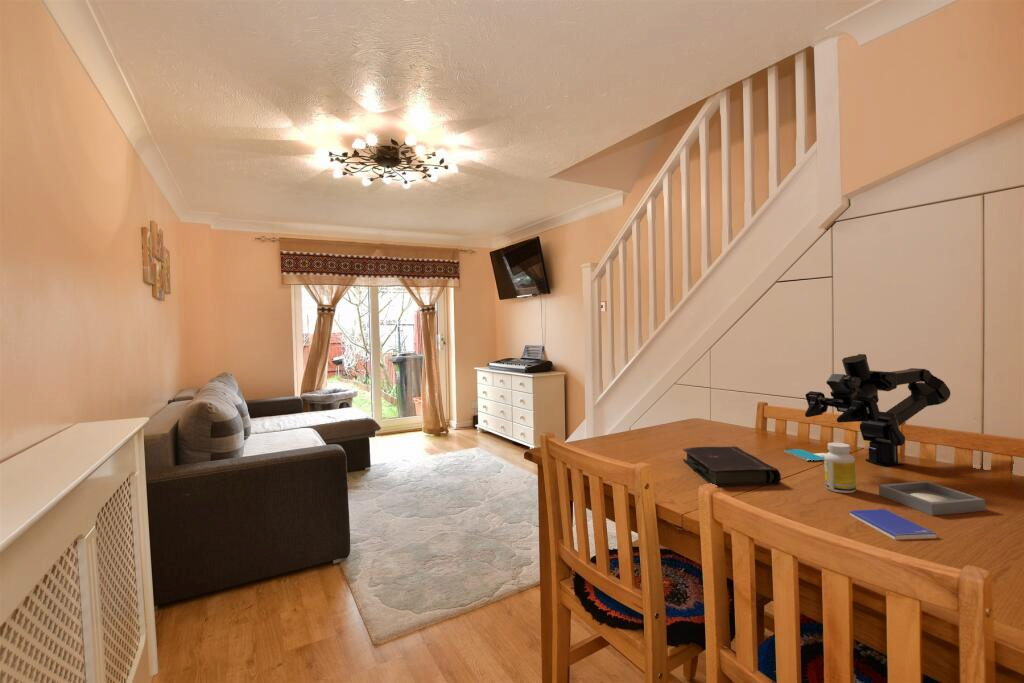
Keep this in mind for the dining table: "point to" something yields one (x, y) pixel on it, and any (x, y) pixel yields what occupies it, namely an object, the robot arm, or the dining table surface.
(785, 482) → the dining table surface
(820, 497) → the dining table surface
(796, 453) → the teal flat slab
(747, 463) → the diary
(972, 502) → the holder tray
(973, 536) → the dining table surface
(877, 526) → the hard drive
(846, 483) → the pill bottle
